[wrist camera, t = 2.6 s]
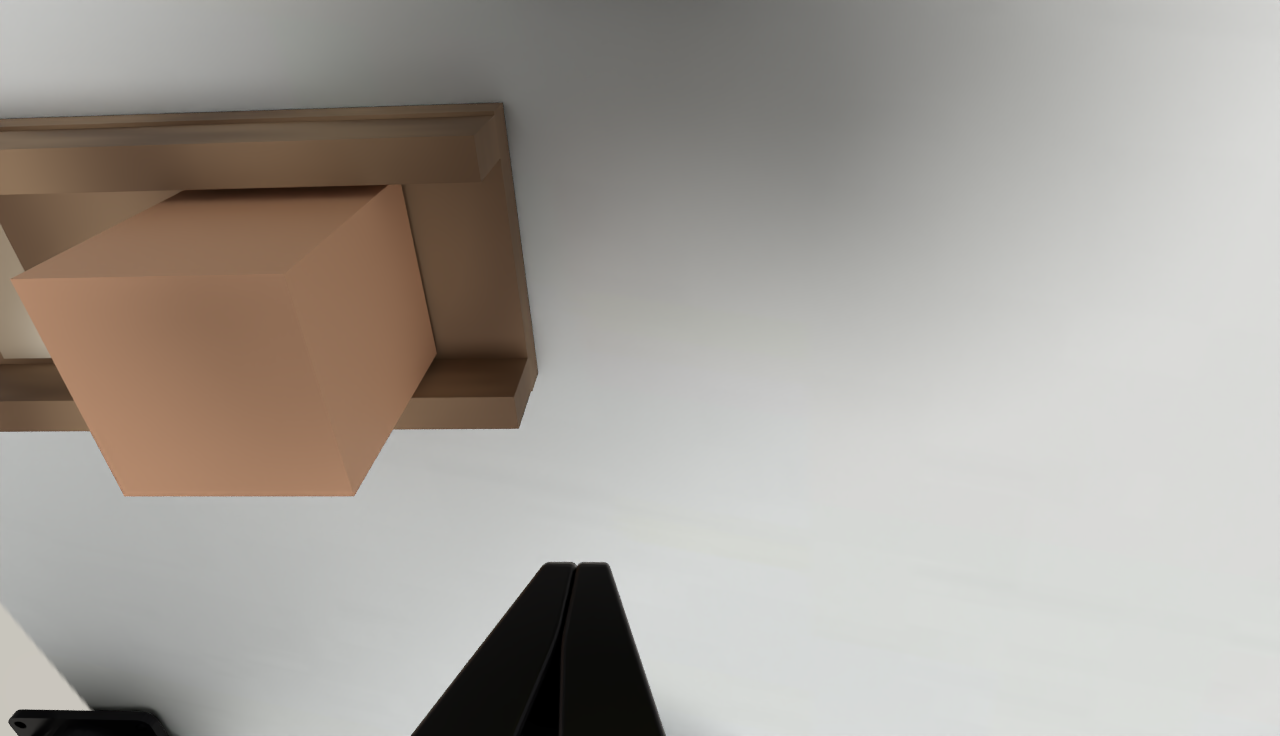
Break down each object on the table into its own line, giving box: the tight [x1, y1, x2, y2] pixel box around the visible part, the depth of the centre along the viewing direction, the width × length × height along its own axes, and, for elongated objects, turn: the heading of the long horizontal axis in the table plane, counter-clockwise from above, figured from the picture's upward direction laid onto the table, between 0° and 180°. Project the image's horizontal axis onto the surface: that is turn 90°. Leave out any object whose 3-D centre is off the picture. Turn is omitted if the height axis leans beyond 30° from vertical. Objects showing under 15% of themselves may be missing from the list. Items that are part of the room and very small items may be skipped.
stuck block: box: [10, 184, 437, 496], centre depth 16 cm, size 5×5×6 cm
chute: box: [0, 103, 538, 432], centre depth 19 cm, size 16×8×3 cm, turn 92°
